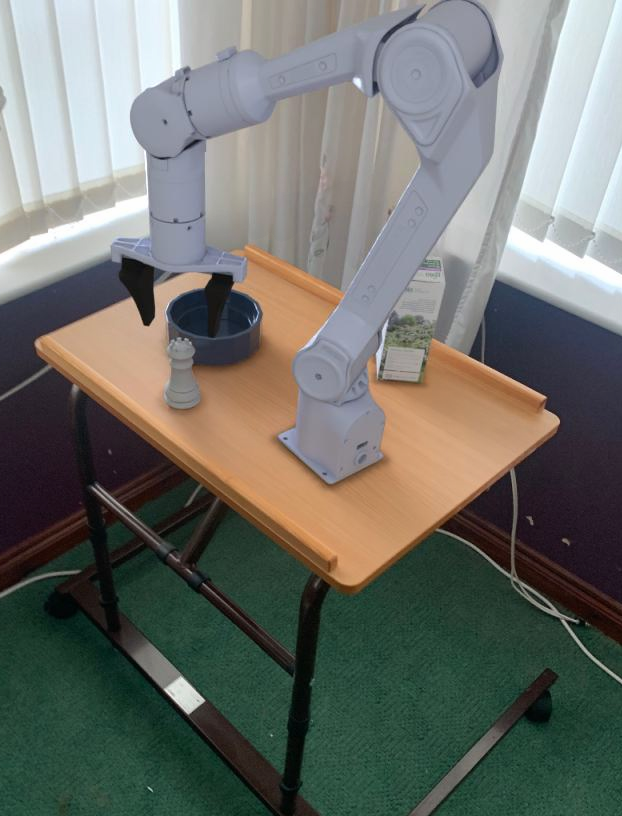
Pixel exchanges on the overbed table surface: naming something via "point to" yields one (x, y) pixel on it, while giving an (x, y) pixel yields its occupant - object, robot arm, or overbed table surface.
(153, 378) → the overbed table surface
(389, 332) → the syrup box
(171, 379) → the rook chess piece
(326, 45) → the robot arm
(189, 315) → the bowl
